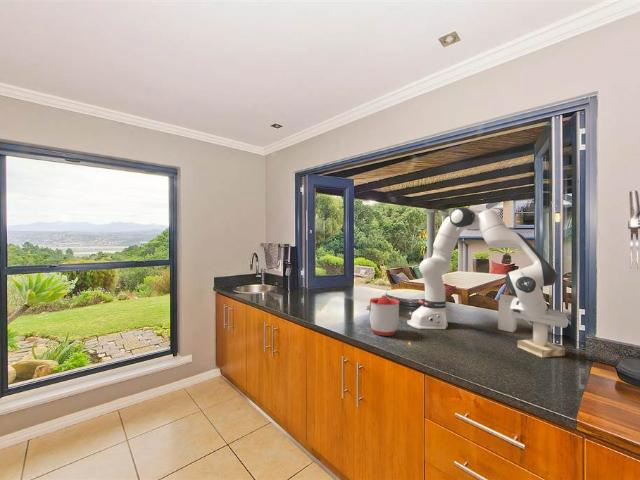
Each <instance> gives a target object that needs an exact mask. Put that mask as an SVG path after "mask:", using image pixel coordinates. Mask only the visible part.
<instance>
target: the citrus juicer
mask: <svg viewBox="0 0 640 480" xmlns="http://www.w3.org/2000/svg"><path fill="white" fill-rule="evenodd" d="M365 310H366V311H368V310H369V323H370V328H371V331H372V333H374V334H375V335H377V336H378V335H379V336H383V337H385V336H387V337H388V336H389V337H390V336H393V335H395V334H396V332H397V330H398V326H399V318H400V312H399V311H400V300H398V299H395V298H390V297H388V296H387V295H385V294H384V295H382V296H380V297H373V298H370V301H369V305H367V306H366V308H365Z"/></svg>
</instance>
